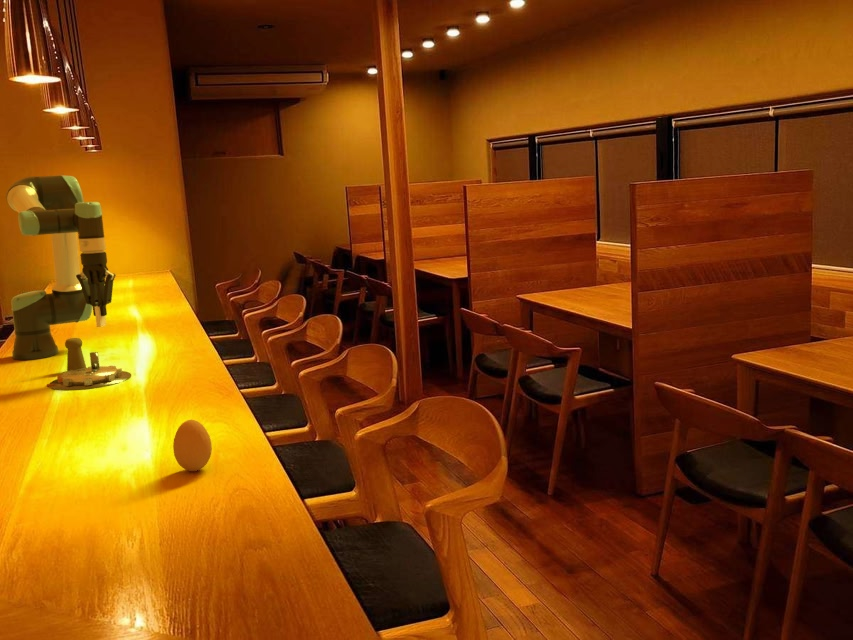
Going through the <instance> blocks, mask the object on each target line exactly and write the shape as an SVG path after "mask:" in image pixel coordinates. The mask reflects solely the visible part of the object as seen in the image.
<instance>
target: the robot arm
mask: <svg viewBox="0 0 853 640" xmlns="http://www.w3.org/2000/svg"><path fill="white" fill-rule="evenodd" d="M83 196H84V195H83V191H82V188H81V186H80V183H79V181H78V180H77V178H76V177H75V176H73V175H43V176H26V177H22V178H20V179H18V180H16V181H15V182H13V183H12V184H11V185H10V186H9V187H8V189H7V190H6V193H5V197H6V202H7V205H9V207H10V208H11V209H12V210H13V211H14V212H17V213H18V215H17V221H18V228H19V231H20V234H21V235H22V236H34V237H35V236H41V235H50V238H51V248H52V260H53V267H54V279H55V284H54V285H53V286H52V287H51V293H50V292H49V293H47V292H46V290H45V289H43V290H42V289H40V290H39V289H38V290H33V291H28V292H23V293H20V294H17V295H15V296H13V297H12V298H11V300H10V303H11V308H10V310H11V313H12V318H13V319H12V320H13V327H14V335H15V337H14V342H13V349H12V353H11V354H12V359H14V360H20V361H25V360H26V361H27V360H36V359H38V360H39V359H44V358H49V357H52V356H56V355H57V354H59V347H58V345H57V344H56V341H55V339H54V337H53V335H52V333H51V326H54V325H61V324H71V323H80V322H84V321H88V320H89V319H90V318H91V315H92V312H93V316H94V317H95V322H96V328H103V327H105V326H107V320H106V316H107V314H108V313H107V312H108V311H107V305H108V304H112V298H113V289H114V288H113V287H114V280H115V278H116V277H117V276H116V273H113V272H111V271H109V268H108V266H107V263H108V258H107V252H106V249H107V248H106V238H105V232H104V222H103V210H102V206H101V203H100V202H99V201H86V202H85V201H84V197H83ZM78 245H79V246H78ZM79 251H80V252H81V253H79ZM79 254H80V256H79ZM80 264H81V265H82V271H81V268H80V267H81V265H80Z"/></svg>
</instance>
